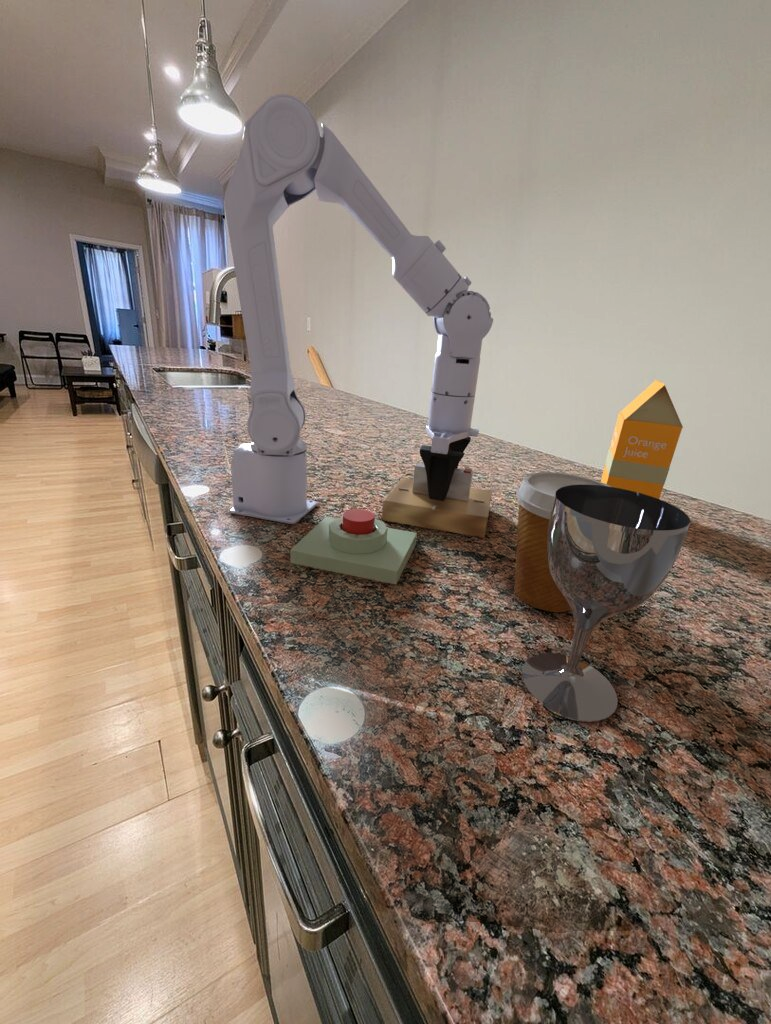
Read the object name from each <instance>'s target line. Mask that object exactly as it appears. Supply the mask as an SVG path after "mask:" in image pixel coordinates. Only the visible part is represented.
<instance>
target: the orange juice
mask: <svg viewBox="0 0 771 1024" xmlns="http://www.w3.org/2000/svg"><path fill="white" fill-rule="evenodd" d="M617 415H618V416H617V419H616V422H615V426H614V430H613V434H612V438H611V441H610V446H609V448H608V452H607V454H606V455H607V456H606V459H605V464H604V467H603V470H602V471H603V472H602V476H601V480H600V482H602V483H605V484H607V485H609V486H611V487H615V488H620V489H625V490H630V491H634V492H638V493H642V494H645V495H648V496H651V497H654V498H657V499H660V498H661V496H662V492H663V489H664V486H665V484H666V481H667V478H668V475H669V471H670V468H671V463H672V460H673V458H674V455H675V452H676V449H677V445H678V442H679V439H680V436H681V433H682V430H683V429H684V426H683V424H682V422H681V419H680V418H679V415H678V413H677V410H676V408H675V406H674V403H673V400H672V398H671V396H670V394H669V392H668V389H667V386H666V384H665V383H663V382H662V381H659V380H657V379H655V380H654V381H653V382H651V384H649V386H647V387H646V388H645V389H644V390H643V391H642V392H640V394H639V395H637V396H636V397H635V398H634V399H633V400H632V401H631V402H630V403H628V404H627V405H626V406H625V407H624V408H623V409H622V410H620V411H619V412H618V414H617Z"/></svg>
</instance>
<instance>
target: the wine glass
mask: <svg viewBox="0 0 771 1024" xmlns="http://www.w3.org/2000/svg"><path fill="white" fill-rule="evenodd" d="M690 525H691V519H690V517H689V515H688V514H687V513H686V512H684V511H683V510H682V509H680V508H679V507H677V506H675V505H673V504H671V503H669V502H667V501H664V500H662V499H660V498H659V499H657V498H654V497H651V496H648V495H645V494H642V493H638V492H634V491H630V490H625V489H620V488H615V487H608V486H600V485H570V486H565V487H561V488H560V489H558V490H557V491H556V493H555V496H554V500H553V504H552V508H551V514H550V519H549V525H548V538H547V561H548V567H549V571H550V574H551V576H552V578H553V581H554V582H555V584H556V586H557V587H558V589H559V590H560V592H561V593H562V595H563V596H564V598H565V599H566V601H567V602H568V604H569V606H570V608H571V610H570V611H571V612H572V613H571V614H572V616H573V621H574V625H573V626H574V627H573V628H574V629H573V637H572V643H571V649H570V654H569V655H567V654H562V653H557V652H542V653H539V654H536V655H533V656H531V657H530V658H528V659H527V660H526V661H524V663H523V666H522V669H521V678H522V681H523V682H524V685H525V688H526V689H527V690H528V692H529V693H530V694H531V695H532V696H533V697H534V698H535V699H536V700H537V701H538V702H539V703H541V704H542V707H543V708H544V709H546V710H548V711H550V712H551V713H553V714H555V715H558V716H560V717H562V718H565V719H568V720H572V721H577V722H580V723H581V722H583V723H596V722H602V721H605V720H607V719H609V718H610V717H612V716H613V715H614V714H615V713H616V711H617V708H618V704H619V699H618V695H617V692H616V690H615V688H614V687H613V685H612V683H611V682H610V681H609V680H608V679H607V677H606V676H605V675H603V674H602V673H601V672H600V671H599V670H598V669H596V667H593V666H592V665H590V664H588V663H587V662H585V661H583V660H581V659H582V657H583V653H584V651H585V649H586V646H587V644H588V642H589V640H590V639H591V636H592V634H593V632H594V631H595V629H596V628H597V627H598V626H599V625H600V624H601V623H603V622H605V621H606V620H608V619H610V618H612V617H614V616H618V615H620V614H622V613H625V612H628V611H630V610H633V609H636V608H637V607H639V606H641V605H642V604H644V603H646V602H647V601H648V600H650V599H651V598H652V597H653V595H655V594H656V592H657V591H658V590H659V588H660V587H661V586H662V585H663V583H664V581H665V580H666V579H667V577H668V576H669V573H670V572H671V570H672V568H673V567H674V565H675V563H676V561H677V559H678V556H679V554H680V552H681V550H682V547H683V544H684V542H685V539H686V537H687V535H688V531H689V528H690Z"/></svg>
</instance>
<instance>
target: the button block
mask: <svg viewBox="0 0 771 1024" xmlns="http://www.w3.org/2000/svg"><path fill="white" fill-rule="evenodd" d="M342 522H343V516H340V517H337V518H335V517H330V516H325V517H324V518H323V519H322V520H321V521H320V522H318V524H316V525H315V526H313V528H312V529H311V530H310V531H309V532H308V533H307V534H306V535H304V536H303V538H301V539H300V540H299V541H298V542H297V543H296V544H295V545H294V546H292V548H291V549H290V550H289V553H290V555H289V556H290V557H289V559H290V560H289V561H290V564H294V565H298V566H303V567H308V568H312V569H313V568H314V569H318V570H322V571H328V572H333V573H338V574H343V575H348V576H352V577H356V578H357V577H358V578H362V579H367V580H372V581H377V582H382V583H387V584H391V585H397V584H398V583H399V580H400V578H401V576H402V574H403V572H404V570H405V568H406V567H407V564H408V562H409V560H410V557H411V555H412V553H413V551H414V549H415V547H416V546H417V538H418V532H415V531H410V530H404V529H403V530H402V529H398V528H392V527H387V525H386V524H385V522H384V521H383V520H380V519H378V518H376V517H375V521H374V531H373V532H372V533H369V534H365V535H355V534H350V533H346V532H344V531H343V530H342Z"/></svg>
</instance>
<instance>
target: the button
mask: <svg viewBox="0 0 771 1024" xmlns="http://www.w3.org/2000/svg"><path fill="white" fill-rule="evenodd" d="M342 517H343V522H342V530H343V531H344V532H346V533H350V534H355V535H365V534H369V533H372V532H373V531H374V521H375V518H376V516H375V514H374V513H373V512H372V511H369V510H367V509H360V508H353V509H348V510H345V511H344V512H343V513H342Z"/></svg>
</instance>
